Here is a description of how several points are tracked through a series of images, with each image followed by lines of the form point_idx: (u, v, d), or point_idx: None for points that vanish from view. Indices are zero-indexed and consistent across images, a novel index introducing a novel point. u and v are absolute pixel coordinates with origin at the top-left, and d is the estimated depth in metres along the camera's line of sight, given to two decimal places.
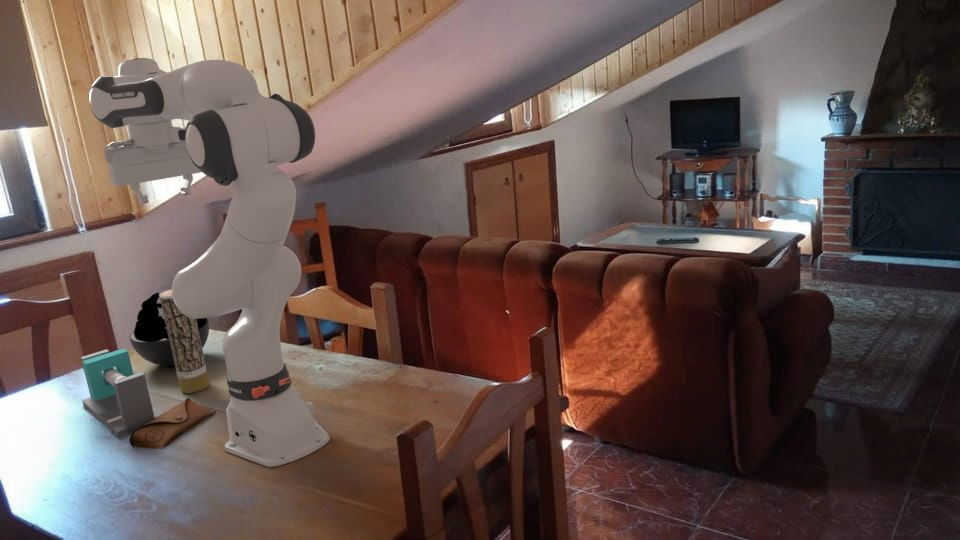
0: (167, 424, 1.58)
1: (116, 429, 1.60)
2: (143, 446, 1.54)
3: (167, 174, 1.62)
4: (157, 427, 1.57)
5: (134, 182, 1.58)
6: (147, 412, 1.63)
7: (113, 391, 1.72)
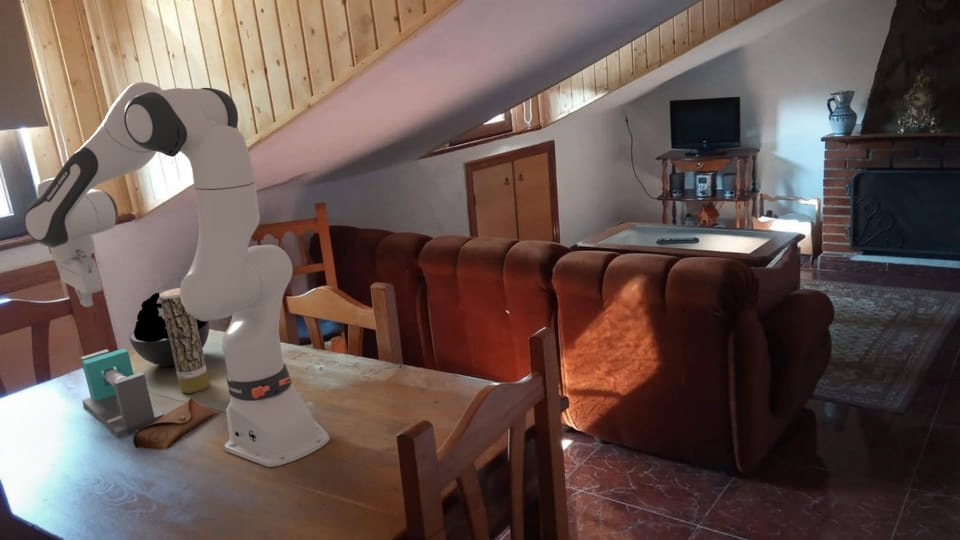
0: (171, 425, 1.58)
1: (116, 429, 1.60)
2: (147, 447, 1.54)
3: None
4: (160, 427, 1.57)
5: None
6: (147, 412, 1.63)
7: (113, 391, 1.72)
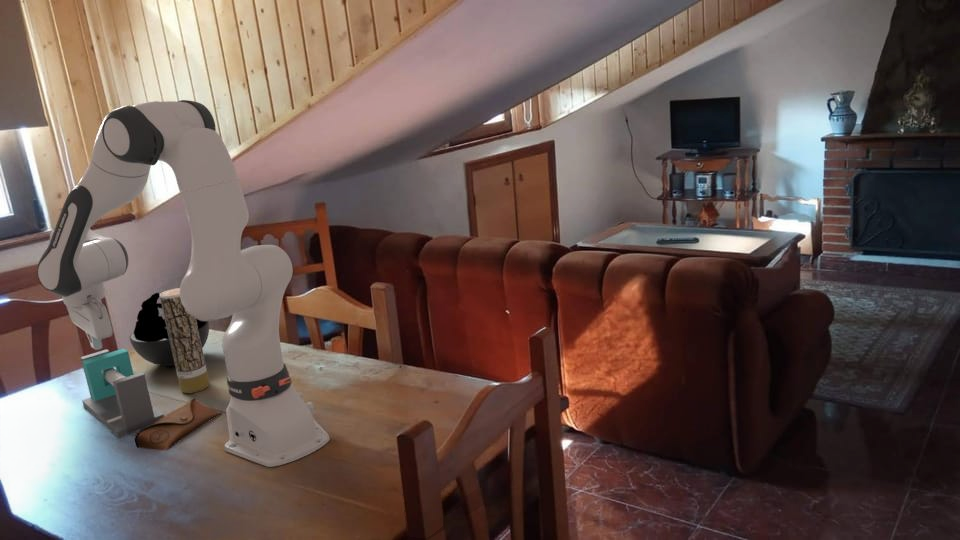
0: (172, 425, 1.58)
1: (116, 429, 1.60)
2: (148, 447, 1.53)
3: None
4: (162, 427, 1.56)
5: None
6: (147, 412, 1.63)
7: (113, 391, 1.72)
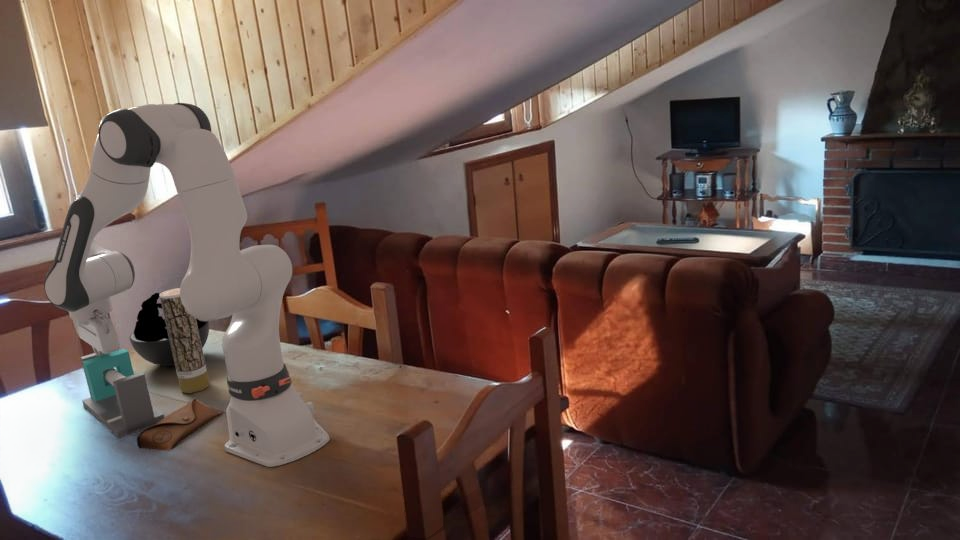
0: (174, 425, 1.57)
1: (116, 429, 1.60)
2: (151, 447, 1.53)
3: None
4: (164, 428, 1.56)
5: None
6: (147, 412, 1.63)
7: (113, 391, 1.71)
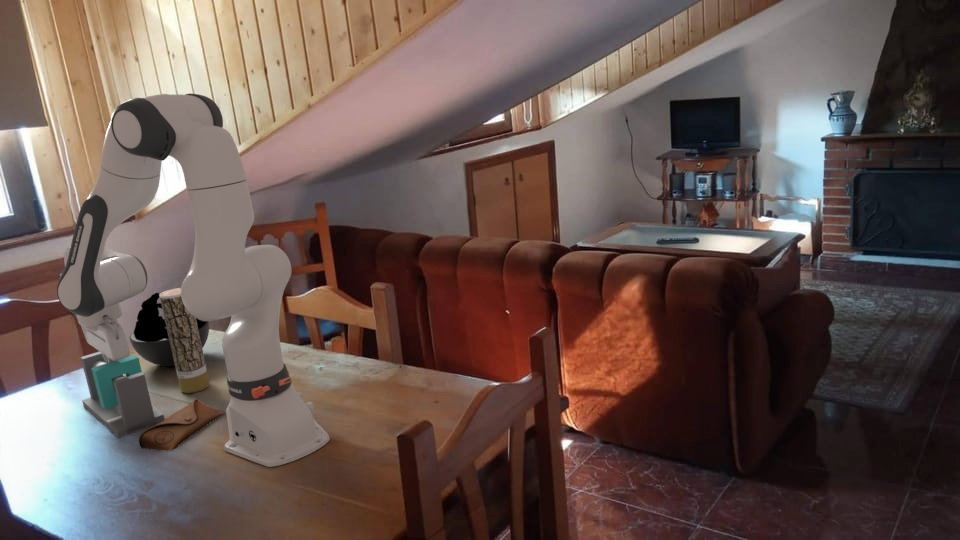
0: (176, 425, 1.57)
1: (116, 429, 1.60)
2: (153, 448, 1.53)
3: None
4: (166, 428, 1.56)
5: None
6: (147, 412, 1.63)
7: None
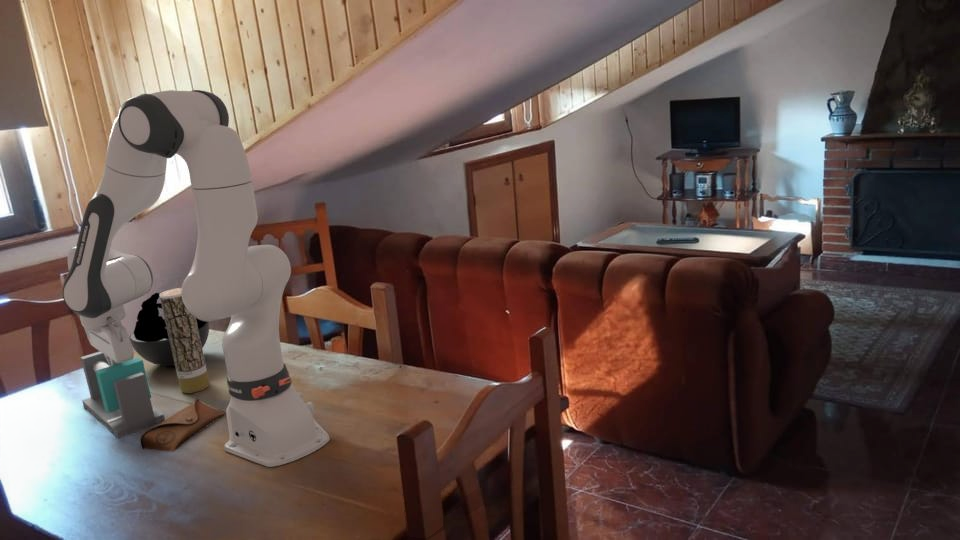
0: (178, 426, 1.57)
1: (116, 429, 1.60)
2: (154, 448, 1.53)
3: None
4: (168, 428, 1.56)
5: None
6: (147, 412, 1.63)
7: None
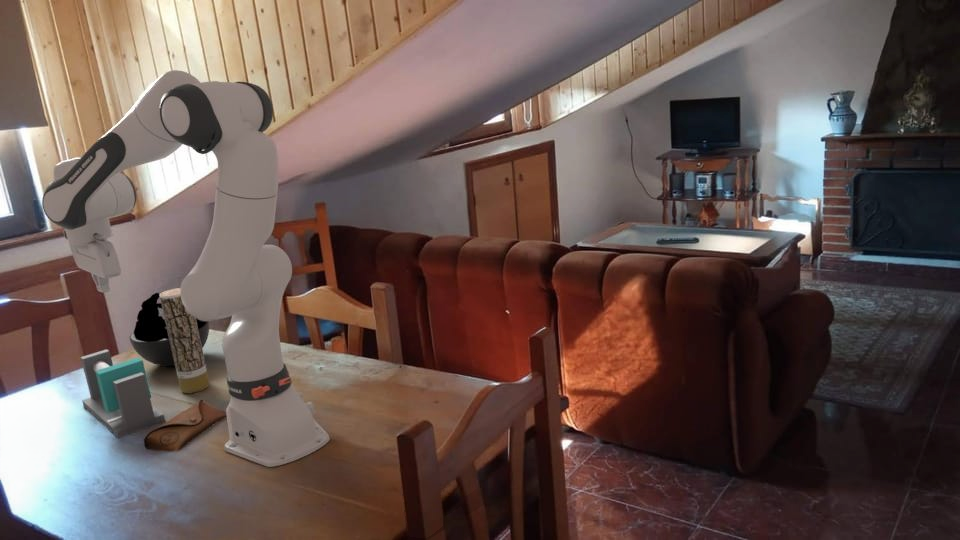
0: (181, 426, 1.57)
1: (116, 429, 1.60)
2: (158, 449, 1.52)
3: None
4: (171, 429, 1.55)
5: None
6: (147, 412, 1.63)
7: None
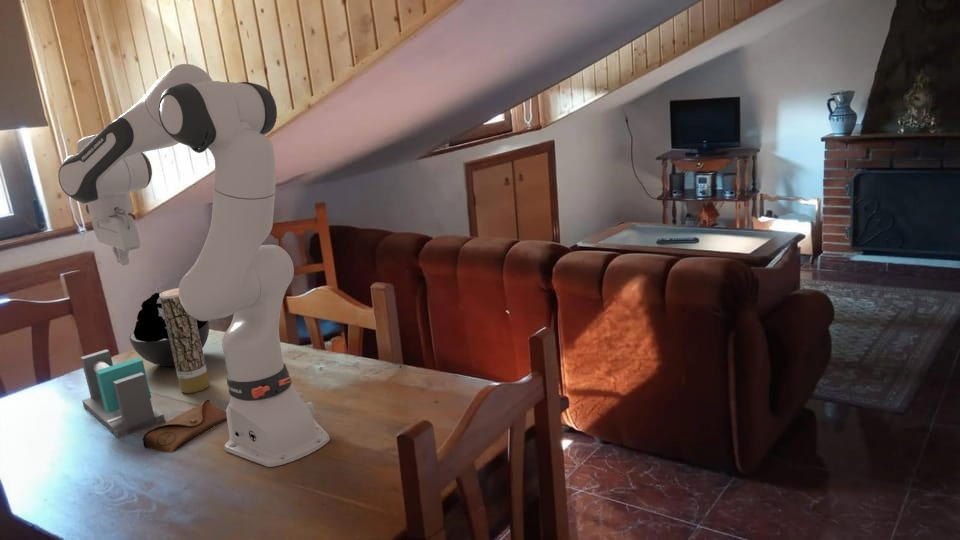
0: (181, 427, 1.56)
1: (116, 429, 1.60)
2: (155, 448, 1.53)
3: None
4: (170, 429, 1.55)
5: None
6: (147, 412, 1.63)
7: None
